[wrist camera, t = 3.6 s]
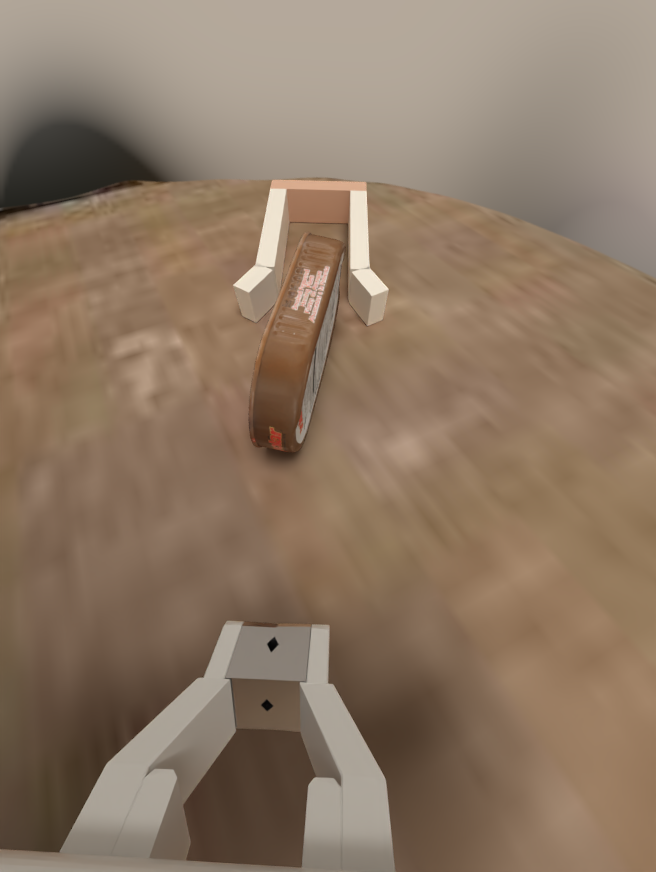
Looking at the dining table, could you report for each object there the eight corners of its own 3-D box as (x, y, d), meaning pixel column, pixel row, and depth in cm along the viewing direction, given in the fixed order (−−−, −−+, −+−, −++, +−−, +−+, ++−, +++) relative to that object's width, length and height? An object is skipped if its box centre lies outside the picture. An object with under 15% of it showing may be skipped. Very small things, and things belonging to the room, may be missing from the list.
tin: (310, 306, 28) (304, 199, 20) (346, 312, 28) (354, 206, 20) (258, 467, 21) (223, 396, 14) (305, 476, 21) (294, 409, 14)
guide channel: (240, 322, 27) (231, 292, 24) (263, 212, 34) (257, 179, 31) (382, 326, 27) (389, 296, 24) (376, 215, 34) (380, 182, 31)
